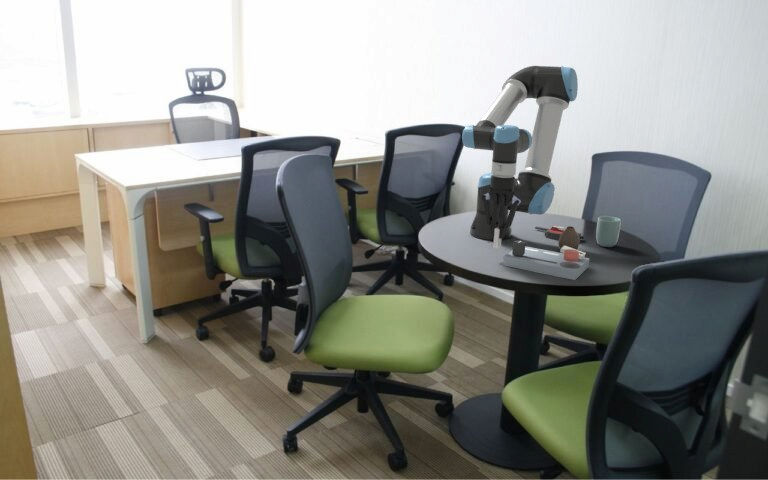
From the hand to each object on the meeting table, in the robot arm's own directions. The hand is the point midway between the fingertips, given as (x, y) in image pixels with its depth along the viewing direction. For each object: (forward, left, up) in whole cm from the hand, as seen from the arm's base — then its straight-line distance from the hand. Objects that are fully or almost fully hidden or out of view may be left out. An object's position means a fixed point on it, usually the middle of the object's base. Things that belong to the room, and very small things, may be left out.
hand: (496, 247), depth 206 cm
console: (+15, +4, -4) cm, 16 cm away
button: (+24, +1, 0) cm, 24 cm away
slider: (+7, 0, -1) cm, 7 cm away
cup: (+25, +41, -5) cm, 48 cm away
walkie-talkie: (+7, +41, -5) cm, 42 cm away
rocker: (+22, +8, +1) cm, 24 cm away
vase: (+16, +25, -5) cm, 30 cm away
